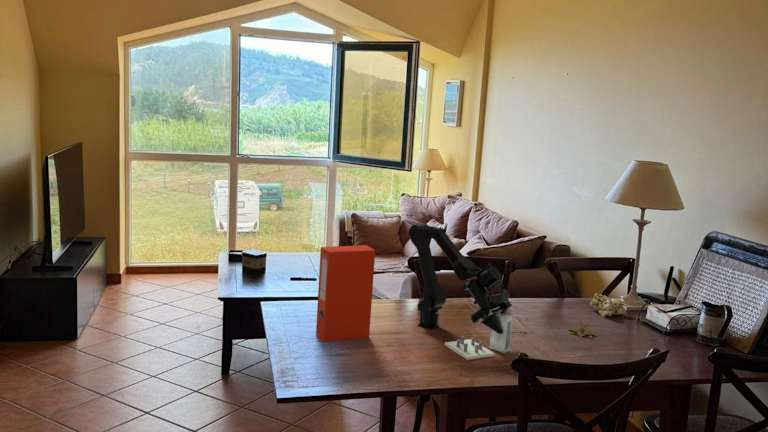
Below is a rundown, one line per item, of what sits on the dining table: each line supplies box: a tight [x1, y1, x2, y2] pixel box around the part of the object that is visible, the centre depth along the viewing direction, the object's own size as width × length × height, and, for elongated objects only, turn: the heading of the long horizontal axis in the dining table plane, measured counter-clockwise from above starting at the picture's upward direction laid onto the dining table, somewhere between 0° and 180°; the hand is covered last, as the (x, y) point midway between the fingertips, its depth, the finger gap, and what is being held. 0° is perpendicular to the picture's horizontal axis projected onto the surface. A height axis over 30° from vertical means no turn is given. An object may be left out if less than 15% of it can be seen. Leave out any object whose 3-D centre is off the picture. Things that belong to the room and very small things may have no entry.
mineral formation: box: [589, 293, 628, 318], centre depth 286 cm, size 8×13×15 cm
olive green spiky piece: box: [568, 322, 598, 339], centre depth 257 cm, size 12×12×5 cm
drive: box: [488, 312, 514, 354], centre depth 233 cm, size 6×4×12 cm, turn 49°
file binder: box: [315, 244, 376, 343], centre depth 234 cm, size 8×17×32 cm, turn 116°
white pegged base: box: [444, 335, 495, 361], centre depth 231 cm, size 14×11×4 cm
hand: (504, 332), depth 232 cm, fingers closed on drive, 4 cm apart
